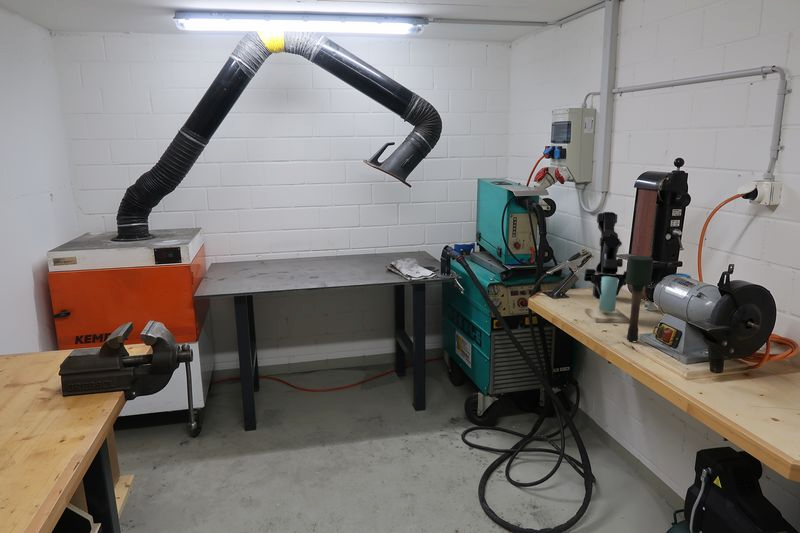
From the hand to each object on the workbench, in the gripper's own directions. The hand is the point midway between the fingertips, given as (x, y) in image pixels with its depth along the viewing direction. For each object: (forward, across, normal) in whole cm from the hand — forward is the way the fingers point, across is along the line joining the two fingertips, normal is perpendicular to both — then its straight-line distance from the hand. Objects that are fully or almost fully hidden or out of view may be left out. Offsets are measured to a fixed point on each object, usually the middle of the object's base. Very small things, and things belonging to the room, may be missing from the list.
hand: (608, 294), depth 211 cm
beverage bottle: (+9, +24, +5) cm, 26 cm away
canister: (+4, 0, +6) cm, 7 cm away
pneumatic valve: (-5, +19, +19) cm, 27 cm away
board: (+6, 0, +8) cm, 10 cm away
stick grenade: (+24, +7, -11) cm, 28 cm away
